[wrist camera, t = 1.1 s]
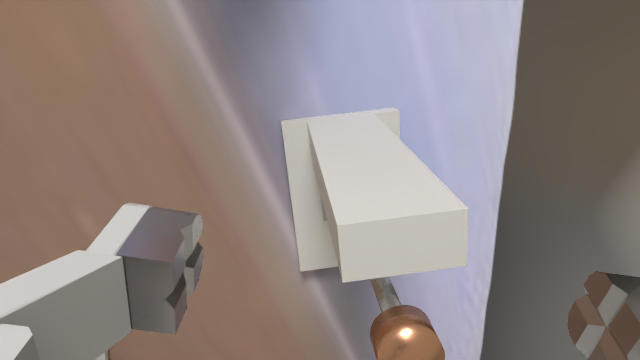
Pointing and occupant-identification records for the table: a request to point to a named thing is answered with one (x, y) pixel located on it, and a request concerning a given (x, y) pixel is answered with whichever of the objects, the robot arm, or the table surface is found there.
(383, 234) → the press frame
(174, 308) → the robot arm
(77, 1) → the table surface
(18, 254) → the table surface
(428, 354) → the plunger
